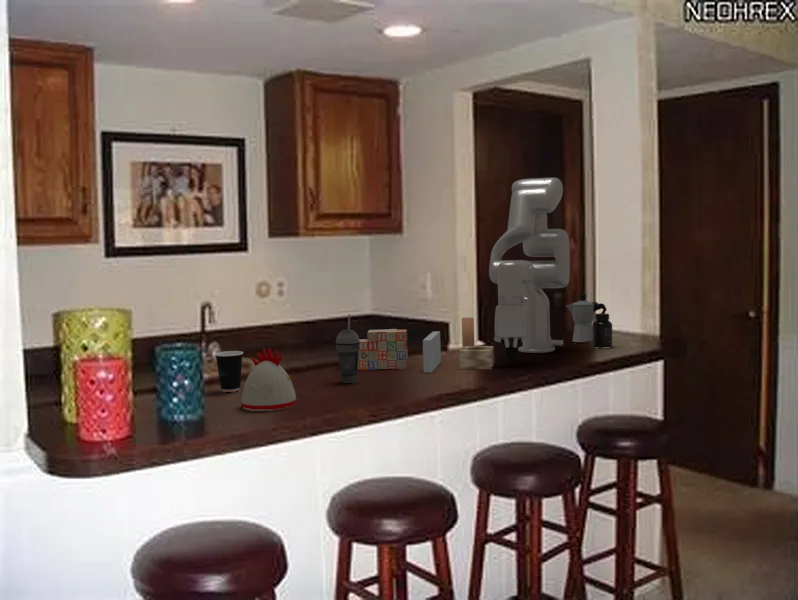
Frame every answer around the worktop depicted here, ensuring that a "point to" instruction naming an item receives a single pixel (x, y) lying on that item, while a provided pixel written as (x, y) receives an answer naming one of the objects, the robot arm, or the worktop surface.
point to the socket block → (476, 357)
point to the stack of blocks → (383, 350)
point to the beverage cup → (348, 354)
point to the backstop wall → (431, 352)
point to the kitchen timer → (268, 384)
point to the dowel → (467, 331)
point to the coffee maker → (584, 318)
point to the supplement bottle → (602, 331)
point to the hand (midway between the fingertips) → (511, 359)
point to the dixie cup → (229, 369)
